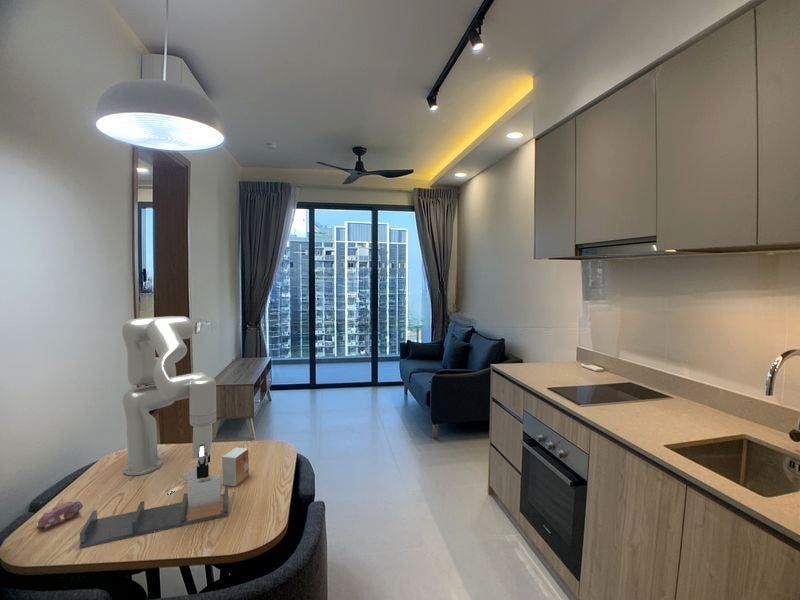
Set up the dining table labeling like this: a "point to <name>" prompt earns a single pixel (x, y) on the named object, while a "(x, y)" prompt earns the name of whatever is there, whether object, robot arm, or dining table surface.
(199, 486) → the panel
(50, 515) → the video game controller
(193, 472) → the car cutout
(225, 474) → the small box
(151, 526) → the slot rack
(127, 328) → the robot arm
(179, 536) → the dining table surface
